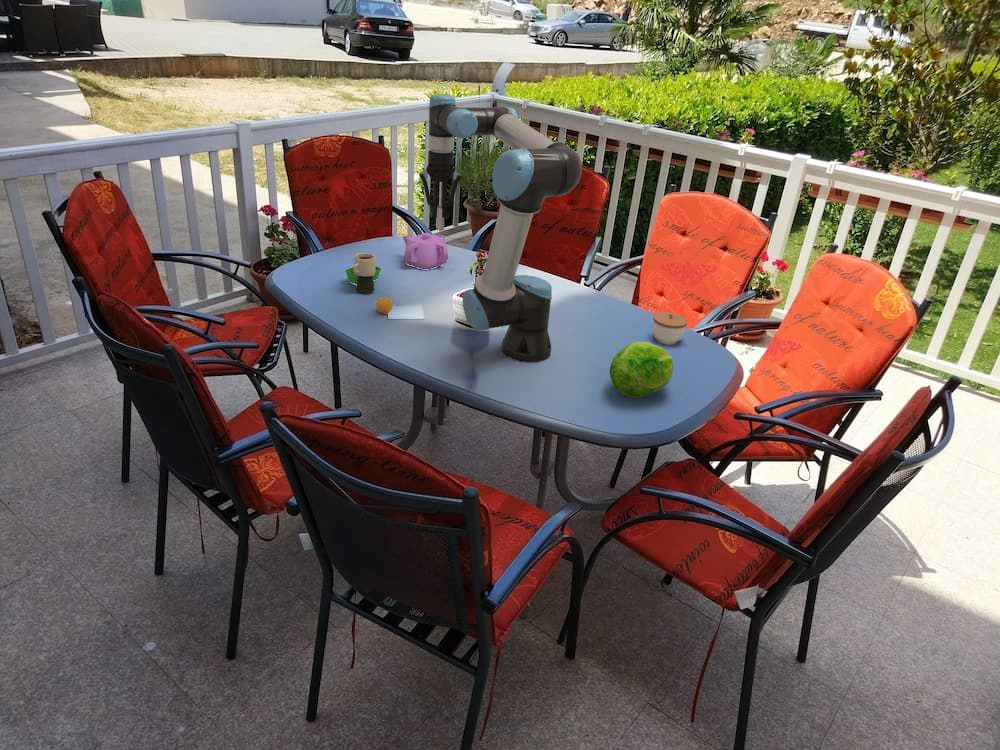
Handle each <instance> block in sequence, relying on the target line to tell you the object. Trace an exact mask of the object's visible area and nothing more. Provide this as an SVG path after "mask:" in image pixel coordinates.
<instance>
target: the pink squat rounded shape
mask: <svg viewBox="0 0 1000 750" xmlns="http://www.w3.org/2000/svg"><path fill="white" fill-rule="evenodd" d="M402 239H403V241H404V243H405V250H404V263H407V264H409V265H413V266H415V267H419V268H422V269H431V268H434V267H437V266H439V265H442V264H444V263H446V264H447V261H448V259H449V255H448V254H449V252H448V251H449V249H448V245H447V244H446V243H447V241H446V235H444V234H443V235H442V234H441V235H439V236H438V235H436V234H431V233H429V232H423V233H420V234H417V235H414V236H412V237H410V236H409V235H403V236H402ZM444 265H445V264H444Z"/></svg>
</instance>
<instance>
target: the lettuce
mask: <svg viewBox="0 0 1000 750" xmlns="http://www.w3.org/2000/svg"><path fill="white" fill-rule="evenodd" d="M673 372H674V364H673V357H672V355H671V354H670V353H669V352H668V351H666V350H665V349H664V348H663V347H661V346H659V345H656V344H653V343H651V342H648V341H633V342H630V343H628V344H627V345H625V346H624V347H622V348H621V349H620V350H619V351H618V353H616V354H615V356H613V359H612V360H611V364H610V367H609V376H610V380H611V383H612V385H613V387H614V389H615V390H616V391H617V392H618V393H619V394H620V395H622V396H626V397H630V398H634V399H639V398H642V397H645V396H649V395H653V394H655V393H657V392H658V391H660V390H662V389H663V388H664V387H666V386H667V385H668V384H669V383H670V380H671V379H672V378H673Z"/></svg>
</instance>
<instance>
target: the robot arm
mask: <svg viewBox="0 0 1000 750" xmlns="http://www.w3.org/2000/svg"><path fill="white" fill-rule="evenodd" d="M472 136H473V137H474V136H492V137H495V138H496V139H498V140H499V141H501V142H502V143H504V144H505V145H506V146H508V147H509V148H511V149H510V150H506V151H504V152H502V153H501V154H500V155H499V156H498V158H497V159H496V161H495V163H494V166H493V168H492V175H491V179H492V183H491V185H492V189H493V192H494V194H495V196H496V199H497V202H498V203H499V204H500V207H499V210H498V214H497V218H496V223H495V226H494V228H493V229H494V230H493V234H492V237H491V242H490V245H489V250H488V254H487V256H486V257H487V258H486V260H485V265H484V269H483V274H481V275H479V276H477V278H476V279H475V282H474V286H473V288H472V289H471V288H469V289H467V290H464V292H463V294H462V309H463V311H464V312H463V313H464V315H465V318H466V320H467V322H468V323H469V325H470V326H471V328H473V329H474V330H477V331H479V330H480V331H481V330H490V329H494V328H499V327H506V326H508V328H507V330H506V333H505V335H504V337H503V339H502V341H501V349H502V350H501V353H502V352H503V353H504V354H505V355H504V354H503V353H502V354H503V355H504V356H505V357H507V356H508V357H507V358H509V357H510V358H509V359H511V358H512V359H511V360H514V359H515V361H517V360H518V362H522V361H526V362H525V363H536V362H537V363H538V362H541V361H544V360H547V359H548V358H549V357H550V356H551V354H552V353H551V352H552V342H551V338H550V335H549V331H548V329H549V322H550V321H549V320H550V312H551V302H552V299H553V297H552V294H553V292H552V290H553V289H552V285H551V283H550V282H549V281H547V280H545V279H543V278H540V277H537V276H533V275H529V274H528V275H527V274H517V271H518V266H519V264H520V260H521V258H522V253H523V251H524V247H525V243H526V241H527V237H528V233H529V230H530V227H531V223H532V219H533V216H534V215H535V214H537V213H539V212H540V211H541V210H542V206H543V204H544V201H545V199H546V198H553V197H561V196H565V195H566V194H569V193H570V192H571V191H573V190H574V189H575V188H576V187H577V185H578V184H579V182H580V180H581V177H582V173H583V166H582V161H581V158H580V156H579V154H578V153H577V152H576V151H575V150H574V149H573V148H572V147H570V146H569V145H567V144H566V143H564V142H562V141H553V140H552V139H550V138H549V137H547V136H546V135H543V133H541V132H539V131H537V130H536V129H535V128H533V127H531V126H529V125H528V124H526V123H525V122H523V121H522V120H520V119H519V114H517V111H516V110H515V109H514V108H512V107H505V106H501V107H500V106H498V107H491V106H490V107H459V106H457V103H456V97H455V96H454V95H451V94H441V93H440V94H438V93H436V94H432V95H430V97H429V106H428V146H427V147H428V149H429V150H428V151H427V155H428V157H427V166H426V168H425V170H424V171H423V172H419V174H418V175H419V178H420V180H421V181H422V184H423V189H424V194H425V197H426V198H425V200H426V203H427V205H428V206H430V207H432V216H433V218H434V219H435V228H436V230H441V229H442V226H443V225H442V222H443V219H445V218H446V213H447V212H446V210H447V207H452V205H453V201H454V198H455V194H456V190H457V187H458V183H459V182H460V181H461V179H462V175H461V174H460V173H458V172H457V171H456V170H455V167H454V149H455V137H456V138H459V139H470V137H472ZM428 176H429V177H430V179H431V180H432V182H433V183H432V184H433V188H432V196H433V197H432V198H431V193H430V190H429V184H428V181H427V179H428ZM451 178H452V183H451V187H450V190H449V194H448V197H447V187H448V185H447V184H448V181H449V180H450V179H451ZM439 183H441V194H440V195H441V197H440V198H441V201H440V202H441V203H440V205H438V203H439V202H438V201H439V200H438V199H439ZM516 274H517V275H516Z"/></svg>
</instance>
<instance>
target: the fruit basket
mask: <svg viewBox="0 0 1000 750" xmlns="http://www.w3.org/2000/svg"><path fill="white" fill-rule="evenodd" d="M375 270H376V271H375V274H374V275H373V276H372V277H373V280H376V279H378V280H379V276H380V272H381V270H382V268H381V267H378V266H377V265H376V266H375ZM345 274H346V276H347V279H348V282H349V281H350V282H352V283H355V284H357V278H358V276H359V275H357V274H354V271H353V267H352V268H348V269H347V268H346V269H345Z"/></svg>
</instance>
